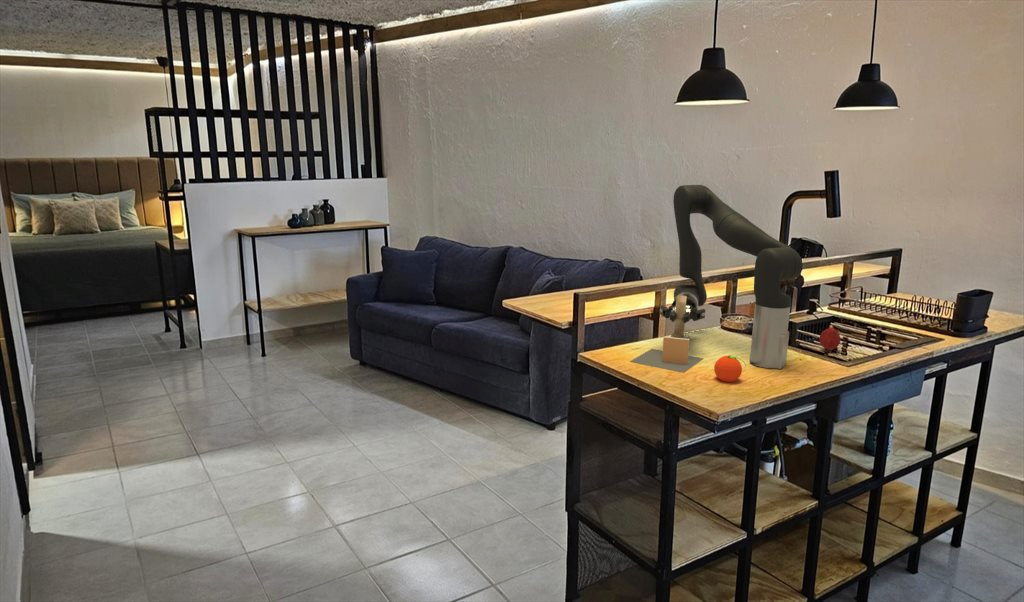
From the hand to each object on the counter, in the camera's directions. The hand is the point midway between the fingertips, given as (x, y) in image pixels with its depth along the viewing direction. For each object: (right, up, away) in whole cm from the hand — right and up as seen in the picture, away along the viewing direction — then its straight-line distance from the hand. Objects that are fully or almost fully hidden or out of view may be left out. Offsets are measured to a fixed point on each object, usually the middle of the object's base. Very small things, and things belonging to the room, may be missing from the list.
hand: (679, 318), depth 190 cm
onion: (+49, -10, +14) cm, 52 cm away
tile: (-2, -12, -1) cm, 12 cm away
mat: (-3, -12, 0) cm, 13 cm away
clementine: (+9, -16, -15) cm, 24 cm away
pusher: (+1, -8, +5) cm, 9 cm away
